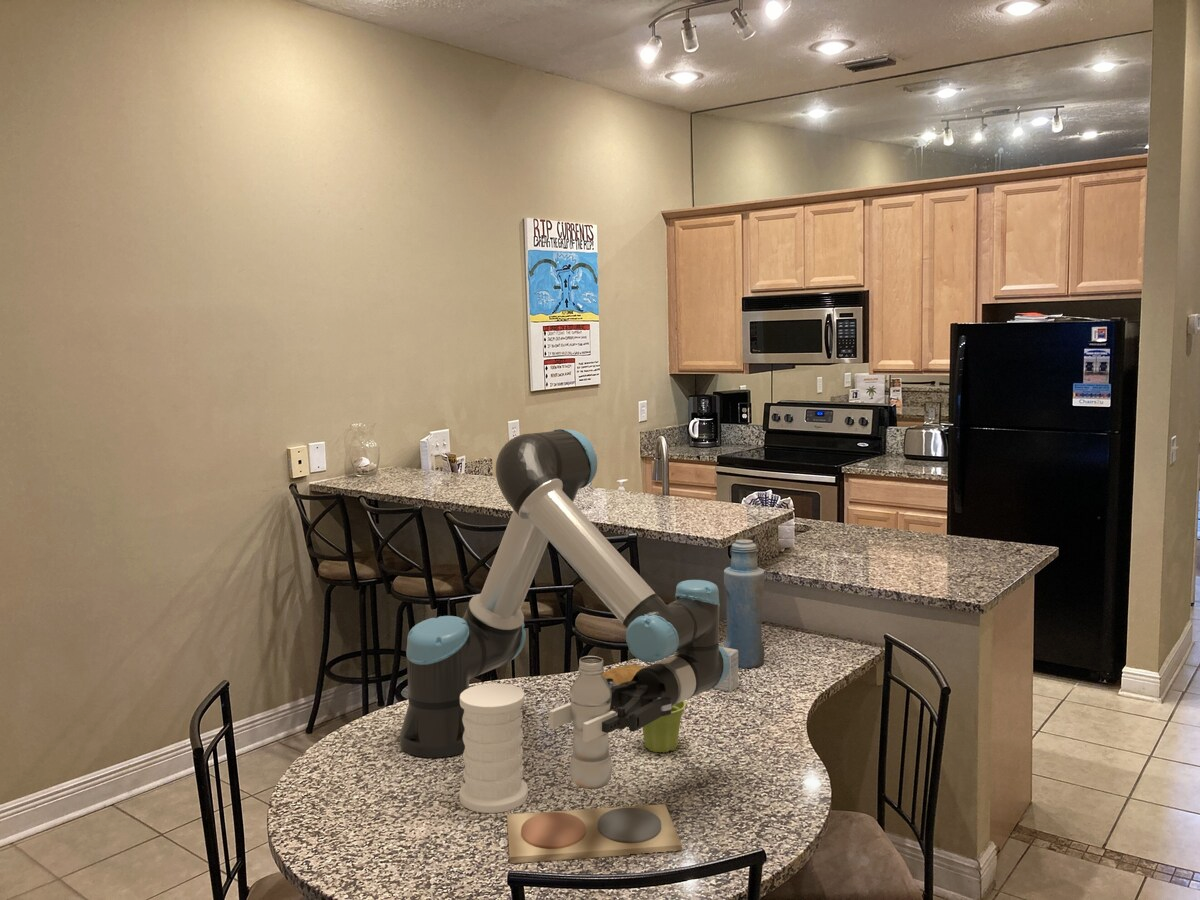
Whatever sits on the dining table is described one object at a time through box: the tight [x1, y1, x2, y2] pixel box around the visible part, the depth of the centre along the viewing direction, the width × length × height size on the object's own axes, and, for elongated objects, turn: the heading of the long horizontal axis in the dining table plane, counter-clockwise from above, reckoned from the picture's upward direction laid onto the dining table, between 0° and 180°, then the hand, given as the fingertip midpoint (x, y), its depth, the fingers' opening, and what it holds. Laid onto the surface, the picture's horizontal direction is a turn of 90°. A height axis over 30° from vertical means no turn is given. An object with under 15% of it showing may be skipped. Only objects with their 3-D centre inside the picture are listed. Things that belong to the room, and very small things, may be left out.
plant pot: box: [641, 700, 687, 754], centre depth 181 cm, size 9×9×9 cm
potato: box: [602, 663, 645, 685], centre depth 203 cm, size 10×14×8 cm
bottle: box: [723, 539, 765, 669], centre depth 228 cm, size 10×10×30 cm
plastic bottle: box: [569, 655, 613, 790], centre depth 146 cm, size 6×7×20 cm
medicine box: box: [712, 646, 739, 693], centre depth 213 cm, size 8×4×9 cm, turn 58°
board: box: [506, 803, 683, 864], centre depth 149 cm, size 26×13×2 cm, turn 97°
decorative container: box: [459, 682, 529, 814], centre depth 161 cm, size 12×12×18 cm
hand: (567, 726), depth 142 cm, fingers closed on plastic bottle, 6 cm apart
